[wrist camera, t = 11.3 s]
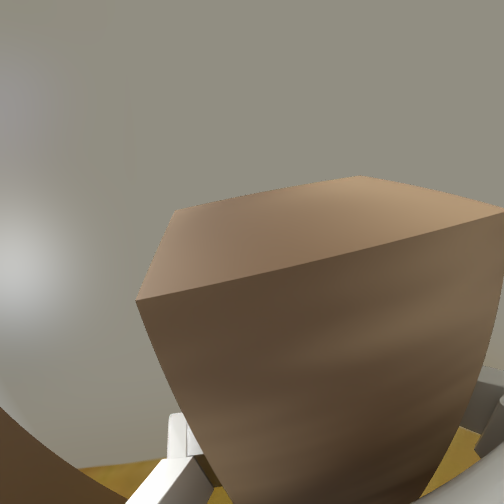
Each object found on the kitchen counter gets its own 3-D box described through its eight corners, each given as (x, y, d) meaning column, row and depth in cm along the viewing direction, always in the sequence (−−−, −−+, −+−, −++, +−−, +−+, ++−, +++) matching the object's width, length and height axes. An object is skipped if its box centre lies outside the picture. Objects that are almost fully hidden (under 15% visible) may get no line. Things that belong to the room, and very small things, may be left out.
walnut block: (358, 444, 12) (360, 175, 8) (401, 522, 7) (510, 210, 3) (255, 474, 11) (174, 210, 7) (278, 564, 7) (135, 300, 3)
